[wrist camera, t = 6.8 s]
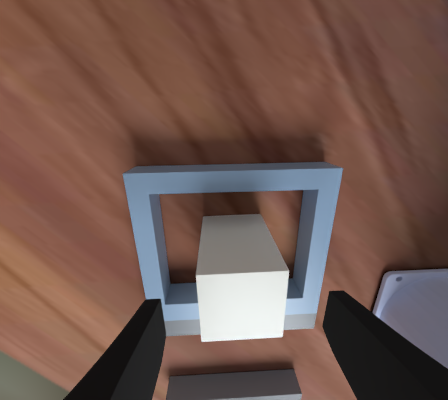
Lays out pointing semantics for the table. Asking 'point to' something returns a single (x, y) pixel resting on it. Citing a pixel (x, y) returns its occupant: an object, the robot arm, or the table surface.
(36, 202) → the table surface
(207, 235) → the cream white block
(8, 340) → the table surface
